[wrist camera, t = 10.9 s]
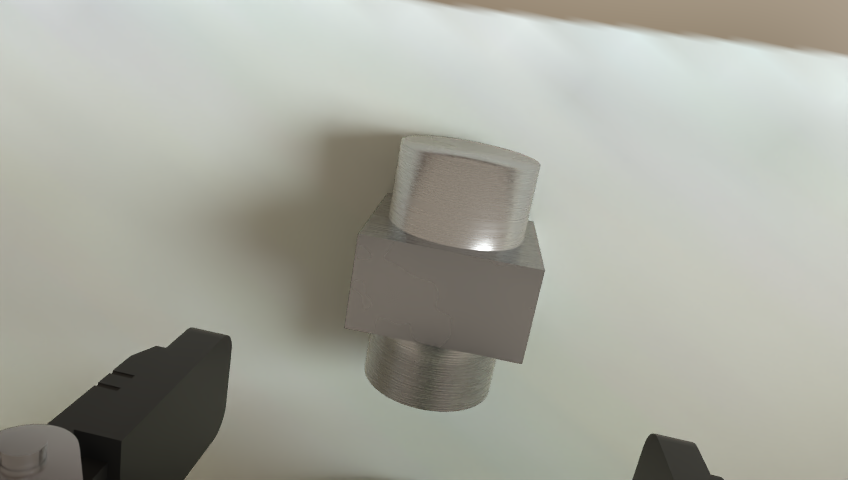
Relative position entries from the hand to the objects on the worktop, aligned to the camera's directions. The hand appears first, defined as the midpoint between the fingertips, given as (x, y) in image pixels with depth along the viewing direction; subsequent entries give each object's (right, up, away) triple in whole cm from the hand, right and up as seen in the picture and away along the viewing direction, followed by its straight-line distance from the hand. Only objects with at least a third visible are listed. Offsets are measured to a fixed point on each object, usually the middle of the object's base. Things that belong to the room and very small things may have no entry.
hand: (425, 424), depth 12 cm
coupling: (+1, +3, +12) cm, 12 cm away
